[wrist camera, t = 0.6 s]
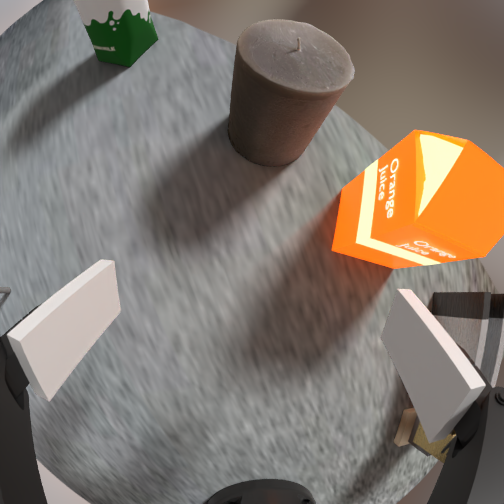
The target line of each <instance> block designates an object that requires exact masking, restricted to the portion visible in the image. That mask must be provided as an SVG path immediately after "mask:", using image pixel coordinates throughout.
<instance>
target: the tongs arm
mask: <svg viewBox="0 0 504 504" xmlns="http://www.w3.org/2000/svg"><path fill="white" fill-rule="evenodd" d="M503 349H504V294H491V301H490V312H489V321H488V328H487V335H486V341H485V347H484V353H483V358H482V363H481V367H480V371H481V372H482V373H483V375H484V376H485V378H486V379H487V381H488V382H489V383H490V385H491V386H492V388H494V387H495V384H496V381H497V377H498V372H499V368H500V364H501V359H502V354H503Z"/></svg>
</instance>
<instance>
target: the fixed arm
mask: <svg viewBox="0 0 504 504" xmlns="http://www.w3.org/2000/svg"><path fill="white" fill-rule="evenodd" d="M490 301H491V292H440V293H434V297H433V308H432V315H433V316H434V317H435V318H436V320H437V321H438V322H439V323H440V325H441V326H442V327H443V328H444V329H445V331H446V332H447V333H448V334H449V336H450V337H451V338H452V339H453V341H454V342H456V343H457V344H458V345H459V346H461V347H462V348H463V349H465V351H466V352H467V353H468V355H469V356H470V357H471V358H470V359H472V360H473V361H474V363H475V366H477V367H478V368H479V369H480V367H481V363H482V358H483V353H484V347H485V341H486V335H487V328H488V321H489V312H490Z"/></svg>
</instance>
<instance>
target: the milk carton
mask: <svg viewBox="0 0 504 504" xmlns="http://www.w3.org/2000/svg"><path fill="white" fill-rule="evenodd" d="M73 1H74V3H75V5H76V7H77V9H78V12H79V14H80V17H81V19H82V21H83V24H84V26H85V28H86V30H87V33H88V35H89V37H90V39H91V42H92V44H93V47H94V50H95V52H96V55H97V58H98V60H99V61H103V62H108V63H113V64H118V65H122V66H127V67H130V66H131V65H132V64H133V63H134V62H135V61H136V60H137V59H138V58H139V57H140V56H141V55H142V54H143V53H144V52H145V51H146V50H147V49H148V48H149V47H150V46H152V45H153V44H154V43H155V42H156V41H157V40H158V37H157V34H156V31H155V28H154V25H153V22H152V19H151V16H150V11H149V6H148V1H147V0H73Z"/></svg>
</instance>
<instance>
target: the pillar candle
mask: <svg viewBox="0 0 504 504" xmlns="http://www.w3.org/2000/svg"><path fill="white" fill-rule="evenodd" d="M354 73H355V69H354V67H353V64H352V62H351V59H350V56H349V54H347V53H346V51H345V49H344V48H343V46H341V45H340V44H339V43H338V42H337V41H335V39H333V38H332V37H331V36H329V35H328V34H326V33H325V32H323V31H321V30H319V29H317V28H315V27H313V26H312V25H310V24H307V23H304V22H296V21H290V20H266V21H260V22H257V23H255V24H253V25H251V26H249V27H248V28H246V29H245V30H244V31H243V33H242V34H241V35H240V37H239V39H238V41H237V47H236V55H235V62H234V71H233V81H232V90H231V102H230V115H229V124H228V128H229V129H228V135H229V139H230V141H231V144H232V146H233V147H234V149H235V150H236V151H237V152H238V153H240V154H241V155H242V156H244V157H245V158H246V159H247V160H249V161H252V162H254V163H256V164H260V165H264V166H282V165H285V164H288V163H290V162H292V161H294V160H296V159H297V158H298V157H299V156H300V155H301V154H302V153H303V152H304V150H305V149H306V147H307V146H308V144H309V143H310V141H311V140H312V138H313V137H314V135H315V133H316V132H317V131H318V129H319V128H320V126H321V125H322V123H323V121H324V120H325V118H326V117H327V115H328V114H329V112H330V111H331V109H332V108H333V106H334V105H335V103H336V102H337V100H338V99H339V97H340V96H341V94H342V93H343V91H344V90H345V88H346V87H347V85H348V83H349V82H350V81H351V80H352V79H353V78H354V75H353V74H354Z"/></svg>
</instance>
